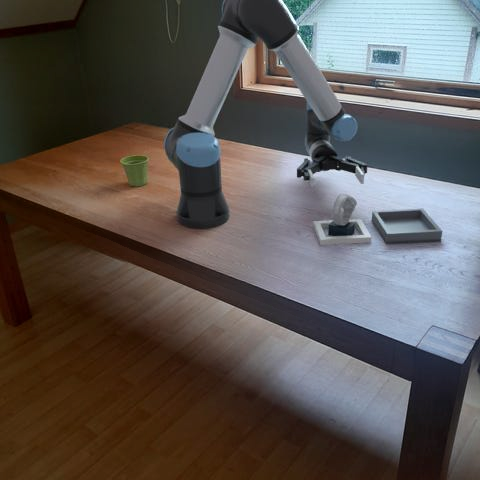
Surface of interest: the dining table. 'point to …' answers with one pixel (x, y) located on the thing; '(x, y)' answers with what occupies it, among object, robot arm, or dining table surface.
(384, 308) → the dining table surface
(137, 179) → the plant pot
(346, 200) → the watch
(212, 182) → the robot arm
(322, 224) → the white open frame
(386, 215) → the tray
